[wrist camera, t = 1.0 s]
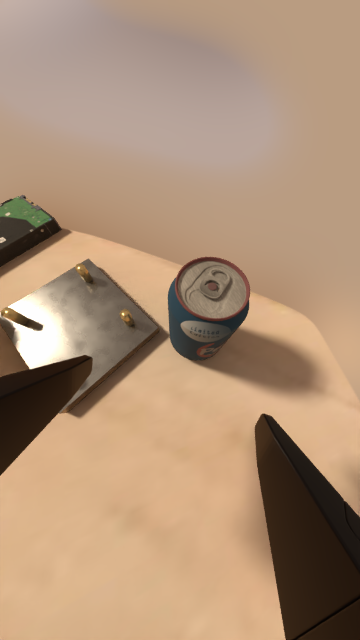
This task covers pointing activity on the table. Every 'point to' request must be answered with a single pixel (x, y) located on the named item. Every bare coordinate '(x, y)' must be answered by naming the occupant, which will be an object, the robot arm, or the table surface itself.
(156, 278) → the table surface
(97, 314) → the chassis plate
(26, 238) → the disk drive
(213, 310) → the soda can
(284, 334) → the table surface
